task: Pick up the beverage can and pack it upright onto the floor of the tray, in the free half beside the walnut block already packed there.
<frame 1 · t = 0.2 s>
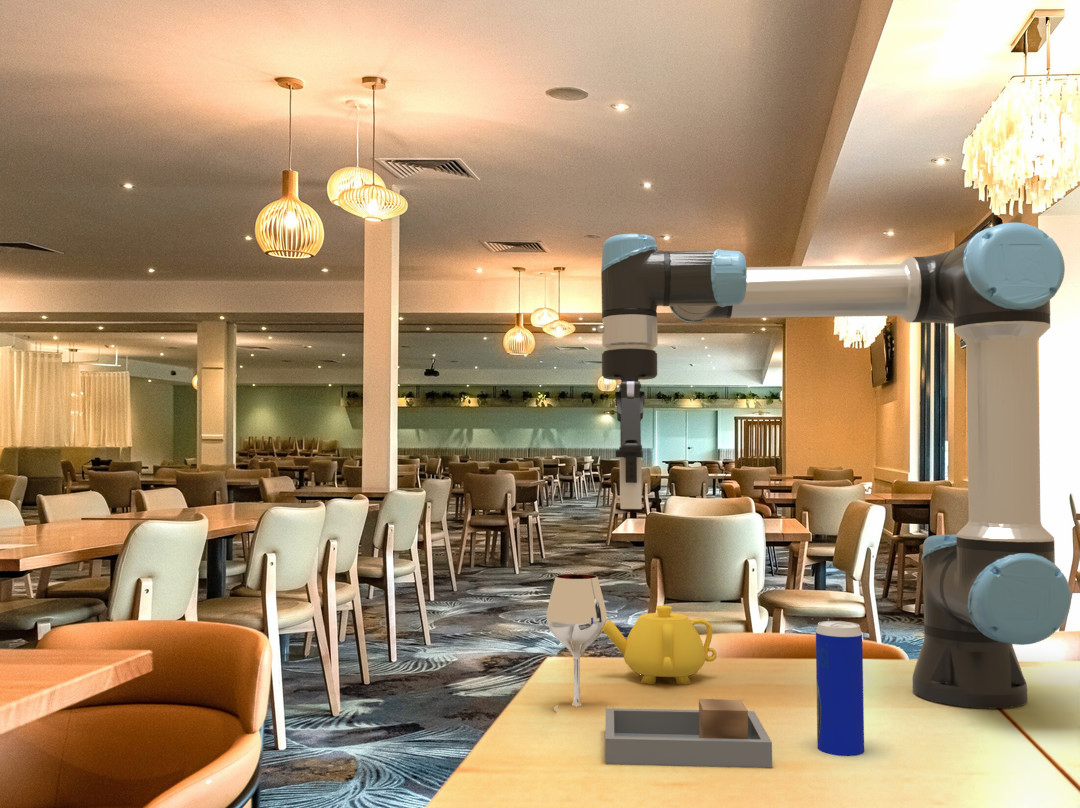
hand: (630, 506, 132), 28 cm above the table, fingers open, 13 cm apart
wineglass: (576, 711, 132), on the table
walnut block: (723, 748, 112), point 1 cm above the table, touching tray
tray: (683, 755, 112), on the table
teapot: (658, 678, 152), on the table
beverage can: (840, 757, 112), on the table
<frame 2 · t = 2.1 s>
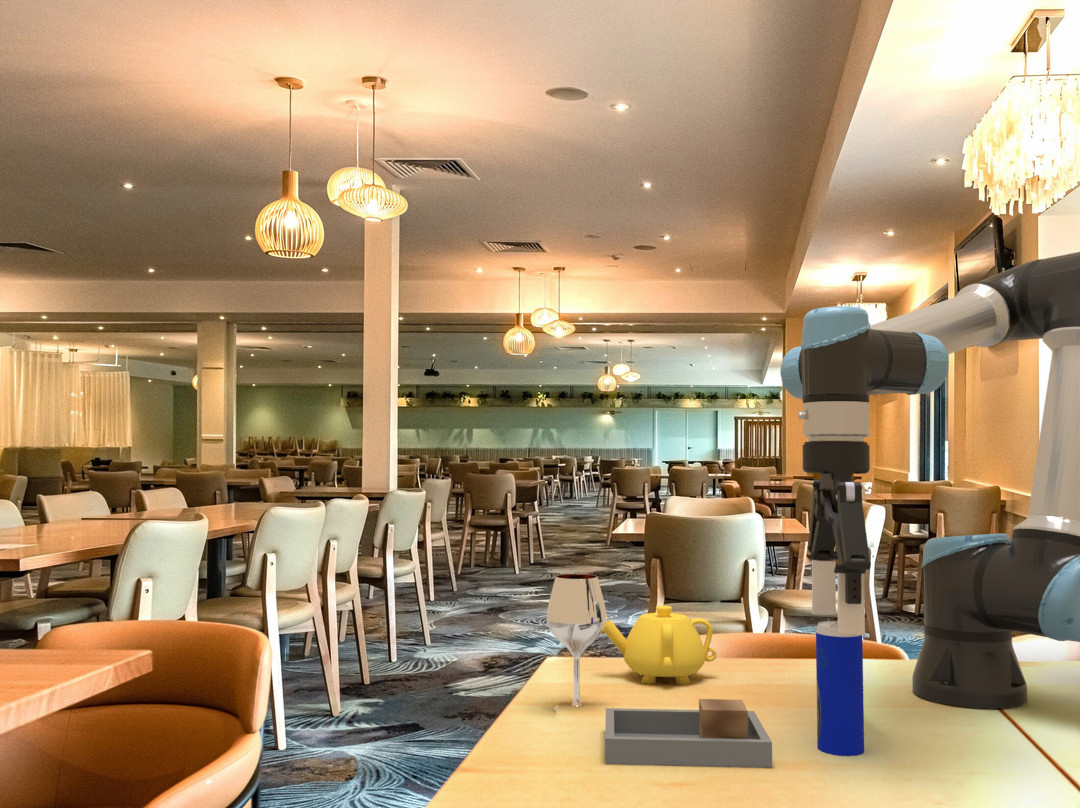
hand: (836, 623, 113), 15 cm above the table, fingers open, 13 cm apart
nothing on the table moved.
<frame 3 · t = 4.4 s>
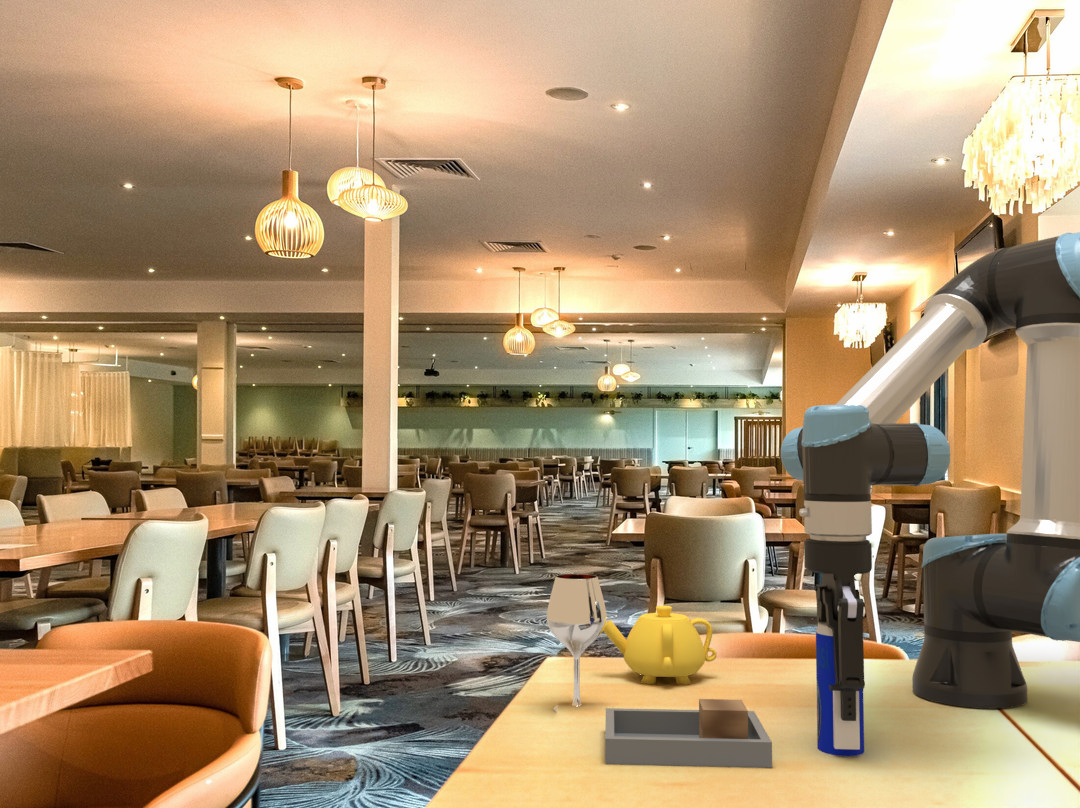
hand: (840, 740, 112), 2 cm above the table, fingers closed on beverage can, 5 cm apart
beverage can: (840, 757, 112), on the table, touching gripper
everything else where it was.
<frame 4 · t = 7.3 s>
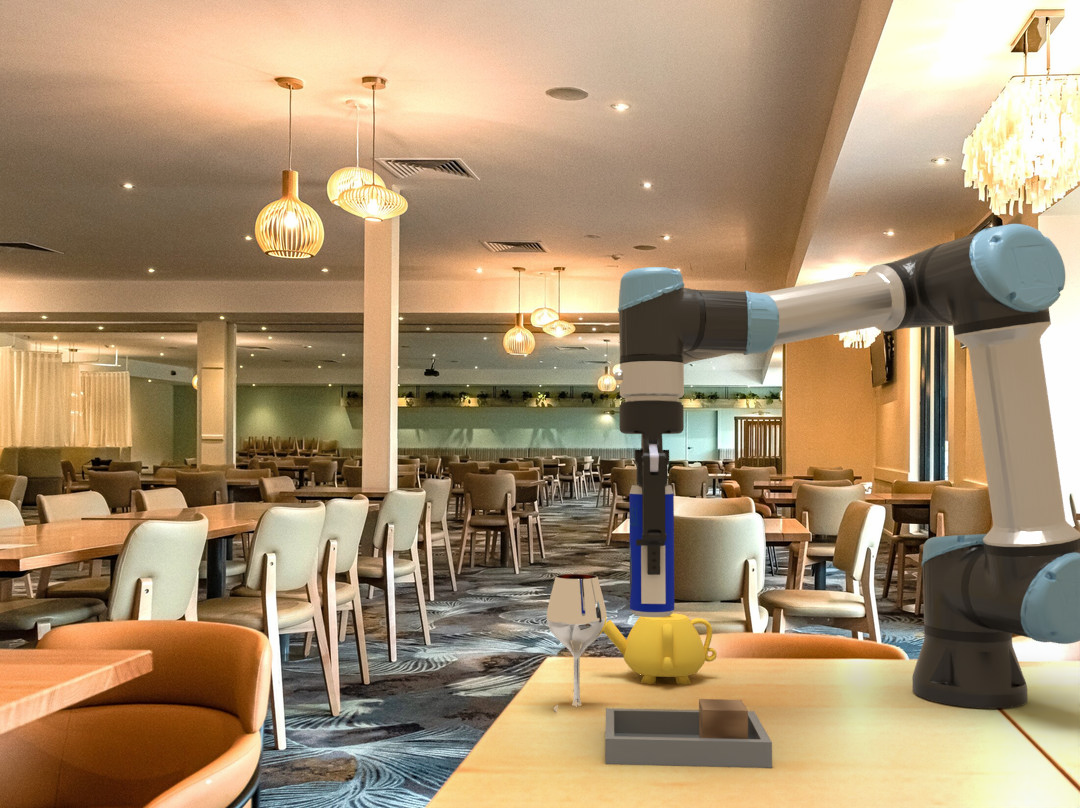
hand: (652, 599, 114), 18 cm above the table, fingers closed on beverage can, 5 cm apart
beverage can: (652, 616, 113), point 16 cm above the table, touching gripper
everything else where it was.
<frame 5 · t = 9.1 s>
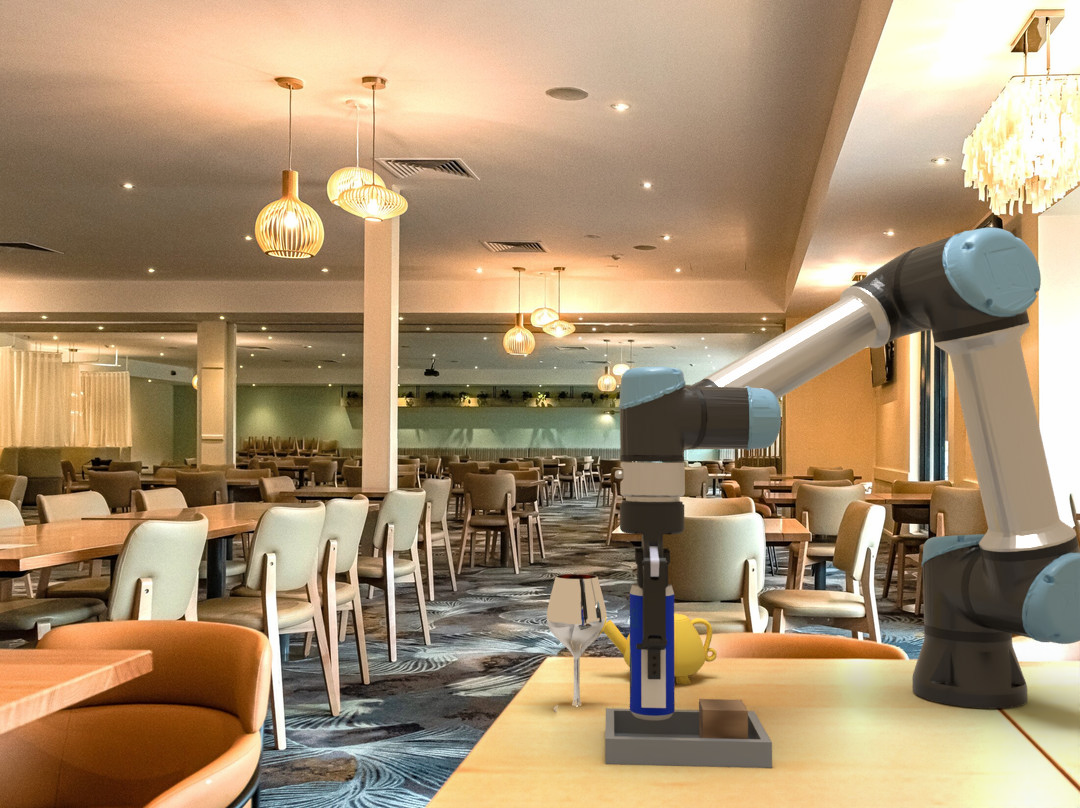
hand: (652, 700, 113), 6 cm above the table, fingers closed on beverage can, 5 cm apart
beverage can: (652, 717, 113), point 4 cm above the table, touching gripper
everything else where it was.
when the fingers open (4 cm above the table, at t = 10.4 s): beverage can drops 1 cm, resting on tray.
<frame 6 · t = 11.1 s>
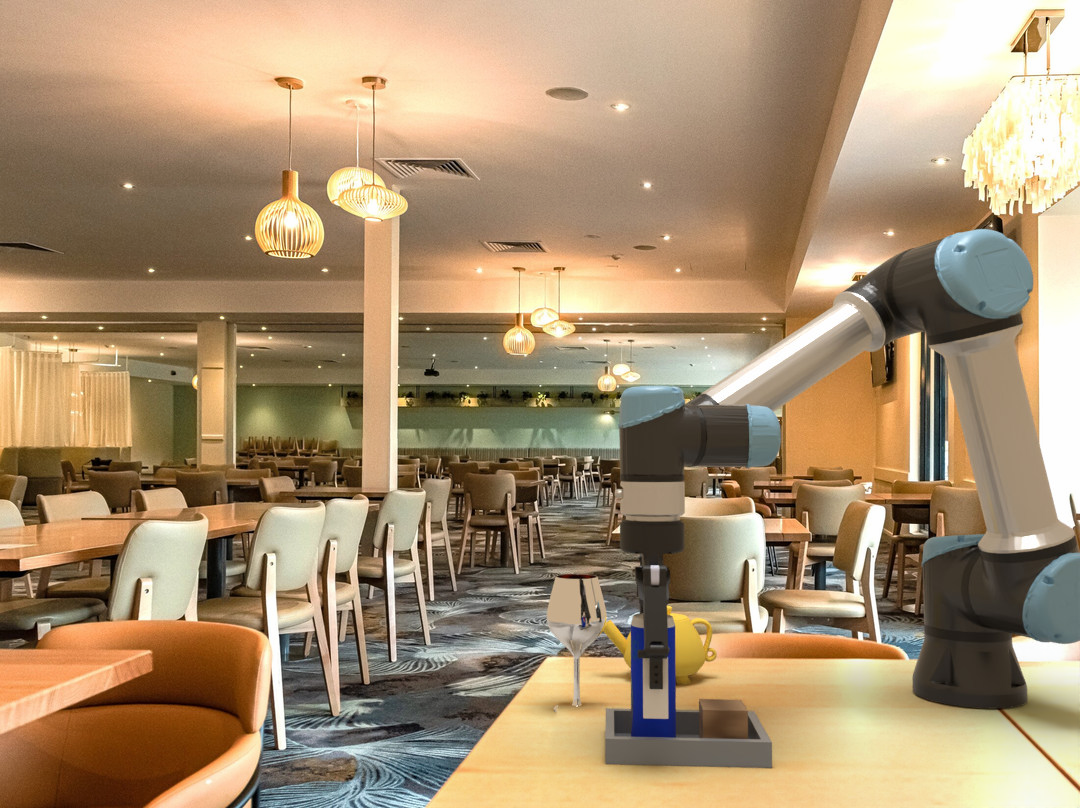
hand: (653, 702, 113), 6 cm above the table, fingers open, 13 cm apart
beverage can: (653, 749, 113), point 1 cm above the table, touching tray
everything else where it was.
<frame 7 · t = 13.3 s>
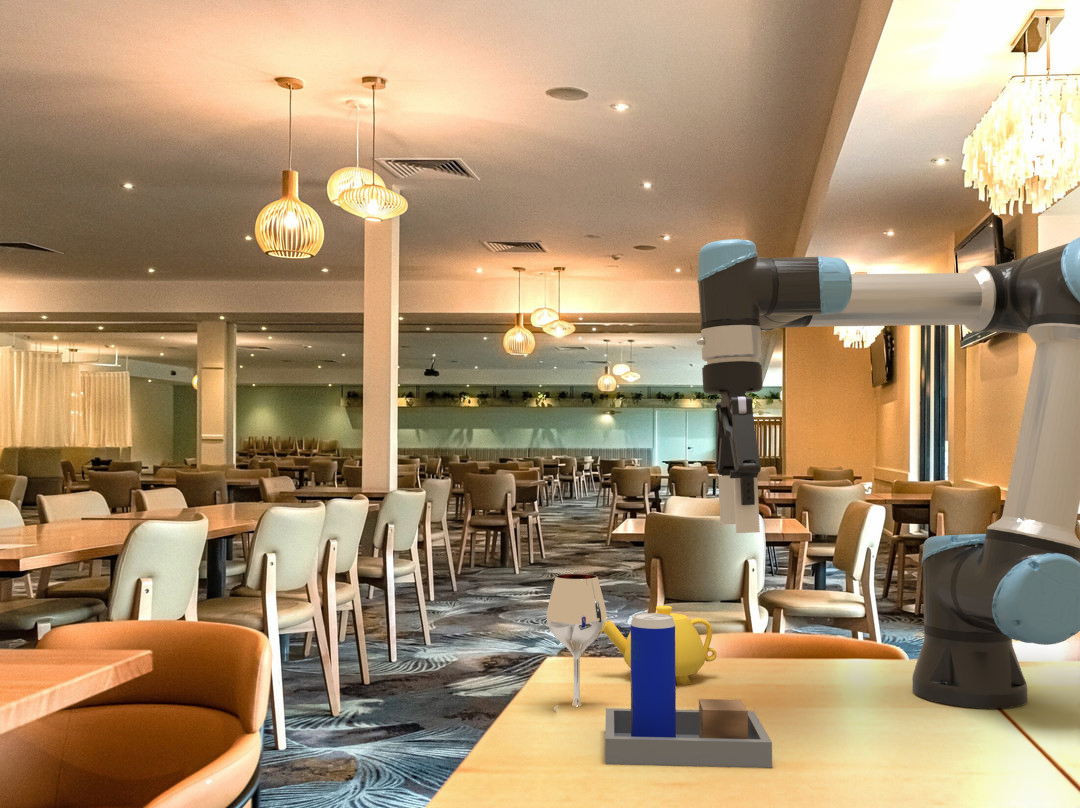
hand: (738, 528, 124), 25 cm above the table, fingers open, 13 cm apart
nothing on the table moved.
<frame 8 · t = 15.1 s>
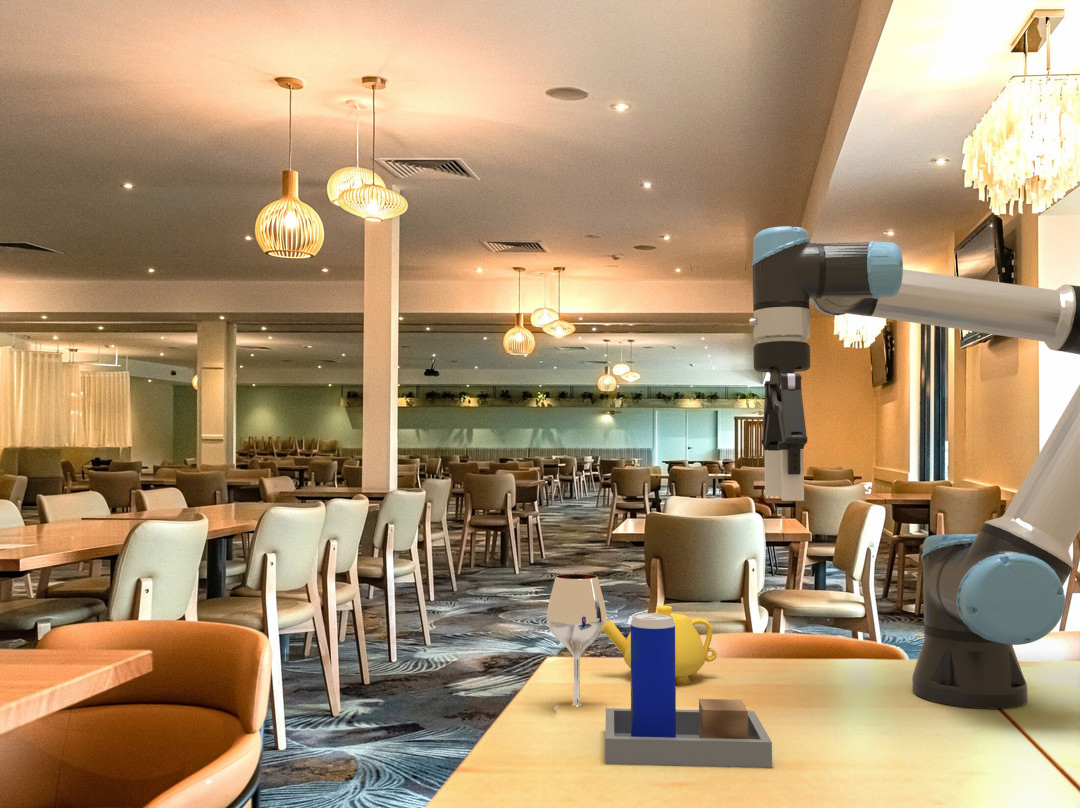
hand: (783, 498, 132), 29 cm above the table, fingers open, 13 cm apart
nothing on the table moved.
at the end: beverage can inside the target area on the tray (0.2 cm from its centre), point 0.6 cm above the tray's base; beverage can tilted 0°; walnut block moved 0.0 cm from its start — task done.
